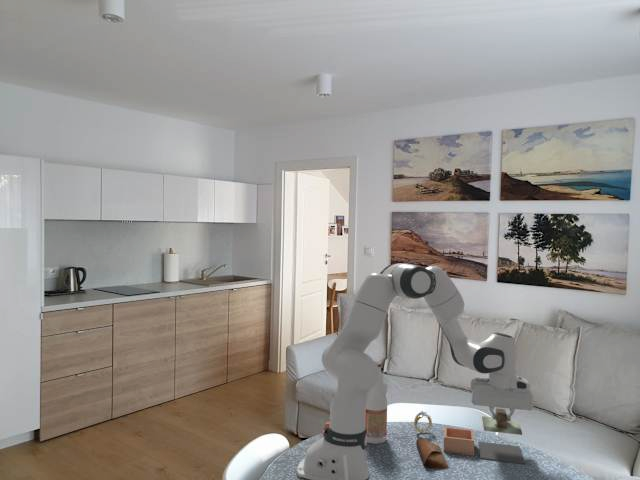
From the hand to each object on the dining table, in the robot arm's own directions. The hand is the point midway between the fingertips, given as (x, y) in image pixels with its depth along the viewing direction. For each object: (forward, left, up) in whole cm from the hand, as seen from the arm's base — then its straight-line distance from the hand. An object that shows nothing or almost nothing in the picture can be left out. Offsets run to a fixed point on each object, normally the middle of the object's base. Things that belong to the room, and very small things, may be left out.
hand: (501, 419), depth 172 cm
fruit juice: (-44, -2, -12) cm, 46 cm away
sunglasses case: (-23, -11, -12) cm, 28 cm away
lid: (0, 0, -2) cm, 2 cm away
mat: (0, 0, -11) cm, 11 cm away
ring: (-27, +10, -12) cm, 31 cm away
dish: (-14, 0, -12) cm, 18 cm away
